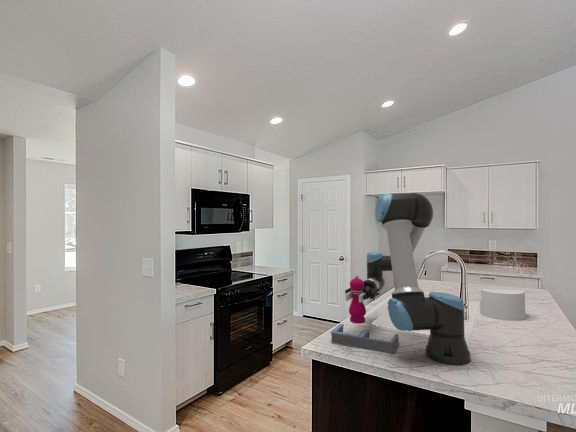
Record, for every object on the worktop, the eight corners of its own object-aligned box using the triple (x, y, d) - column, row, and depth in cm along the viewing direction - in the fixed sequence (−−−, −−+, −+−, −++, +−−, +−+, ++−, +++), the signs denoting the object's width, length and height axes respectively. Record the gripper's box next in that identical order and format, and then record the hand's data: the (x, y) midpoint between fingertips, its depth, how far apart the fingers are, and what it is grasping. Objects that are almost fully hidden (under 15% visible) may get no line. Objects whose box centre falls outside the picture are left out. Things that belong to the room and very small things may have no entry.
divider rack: (398, 343, 139) (398, 332, 139) (392, 353, 129) (392, 341, 129) (340, 334, 151) (340, 324, 151) (330, 343, 141) (330, 332, 141)
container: (513, 310, 184) (513, 286, 184) (533, 321, 164) (533, 294, 164) (474, 309, 188) (473, 285, 188) (489, 320, 168) (488, 293, 168)
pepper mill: (366, 324, 139) (365, 276, 139) (348, 323, 140) (347, 276, 140) (366, 319, 146) (365, 273, 146) (349, 318, 147) (348, 273, 147)
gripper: (388, 297, 154) (374, 310, 134) (351, 293, 163) (332, 305, 143) (388, 281, 154) (374, 291, 134) (350, 278, 163) (332, 287, 143)
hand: (352, 298), depth 139 cm, fingers closed on pepper mill, 5 cm apart
